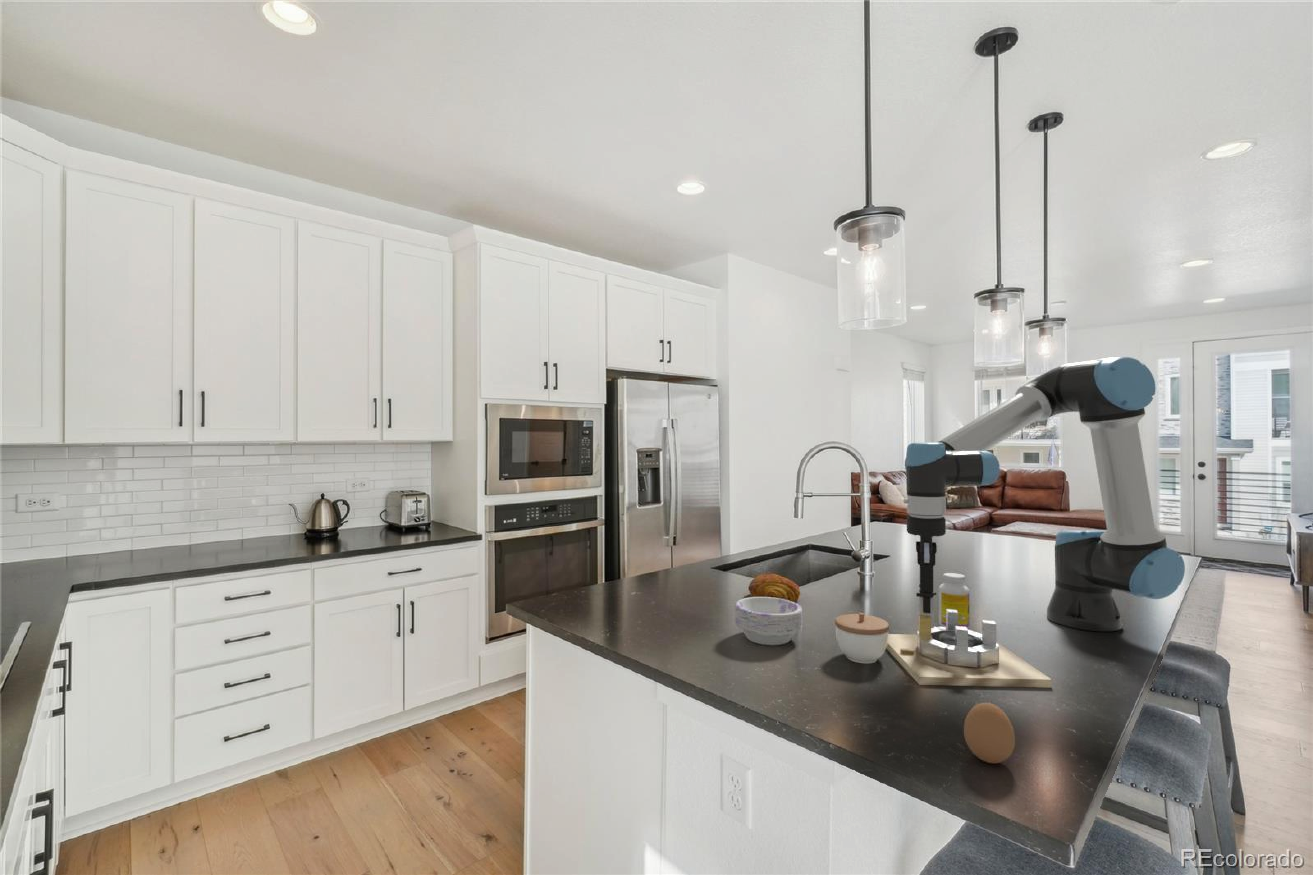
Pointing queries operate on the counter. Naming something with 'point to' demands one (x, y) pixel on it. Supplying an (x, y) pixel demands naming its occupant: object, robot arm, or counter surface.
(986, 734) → the egg
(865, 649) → the lidded jar
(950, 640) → the dark grey dome
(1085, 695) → the counter surface
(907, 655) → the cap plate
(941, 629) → the ring nut
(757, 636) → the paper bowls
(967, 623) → the supplement bottle
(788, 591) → the croissant
